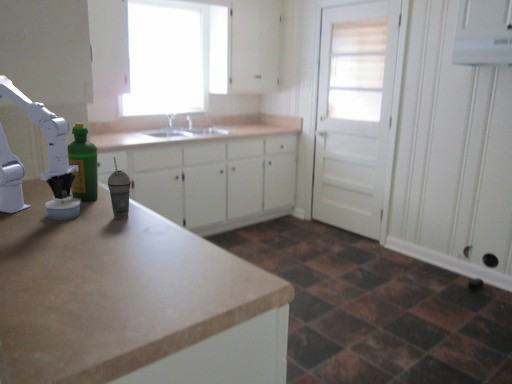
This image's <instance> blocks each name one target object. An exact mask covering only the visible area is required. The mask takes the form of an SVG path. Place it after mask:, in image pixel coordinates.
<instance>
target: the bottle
mask: <svg viewBox="0 0 512 384" xmlns="http://www.w3.org/2000/svg"><path fill="white" fill-rule="evenodd" d="M71 134H72V135H73V138H74V140H73V141H71V142H70V143H69V144H67V149H68V160H69V166H72V165H77V166H78V171H77V172H72V174H75V178H74V180H73V183H72V186H71V190H70V191H71V195H72V198H81V200H82V203H87V202H93V201H95V200H97V198H98V195H99V193H98V192H99V190H98V189H99V188H98V185H99V184H98V181H99V179H98V177H99V176H98V148H97V146H96V145H95V143H92V142H91V141H90V140H88V134H89V130H88V126H85V123H84V122H75V123H74V126H73V127H72V130H71Z"/></svg>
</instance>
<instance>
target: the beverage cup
mask: <svg viewBox="0 0 512 384" xmlns="http://www.w3.org/2000/svg"><path fill="white" fill-rule="evenodd" d="M113 162H114V168H115V171H113V172H112V173H110V175H109V176H108V179H107V187H108V191H109V194H110V201H111V206H112V207H111V209H112V213H113V218H114V219H116V220H126V219H127V218H129V213H130V211H129V209H130V208H129V207H130V189H131V184H132V181H131V178H130V176H129V174H128V173H126V172H125V171H123V170H118V166H117V159H116V157H115V156H113Z"/></svg>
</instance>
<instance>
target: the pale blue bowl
mask: <svg viewBox="0 0 512 384" xmlns="http://www.w3.org/2000/svg"><path fill="white" fill-rule="evenodd" d="M64 202H65V203H61V201H54V200H52V199H51V200H48V201H46V202H45V203H44V206H45V208H46V216H47V218H48V219H49V220H54V221H64V220H65V221H66V220H71V219H75V218H77V217H79V216H80V215H81V208H82V207H83V202H82V200H81V198H73V197H72V199H70V200H67V201H64Z"/></svg>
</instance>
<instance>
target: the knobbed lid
mask: <svg viewBox="0 0 512 384" xmlns="http://www.w3.org/2000/svg"><path fill="white" fill-rule="evenodd" d="M72 198H73V196H72V194H70V196H67V189H62V198H61V199H57V198H55V196H54V195H53V196H52V198H51V200H54V201H61V203H65V202H64V201H67V200H70V199H72Z"/></svg>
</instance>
